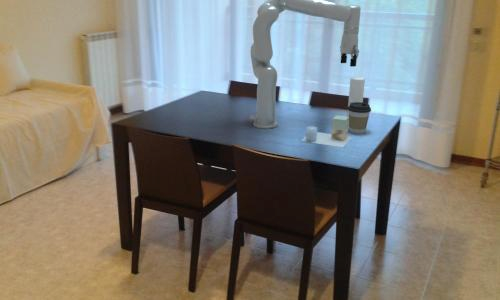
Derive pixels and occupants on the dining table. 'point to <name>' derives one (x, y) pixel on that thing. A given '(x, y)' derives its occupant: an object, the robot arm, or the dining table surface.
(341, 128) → the top block
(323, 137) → the white rectangular slab
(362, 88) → the cylindrical container
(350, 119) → the coffee cup
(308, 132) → the pale white cylinder
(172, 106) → the dining table surface
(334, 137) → the bottom block
